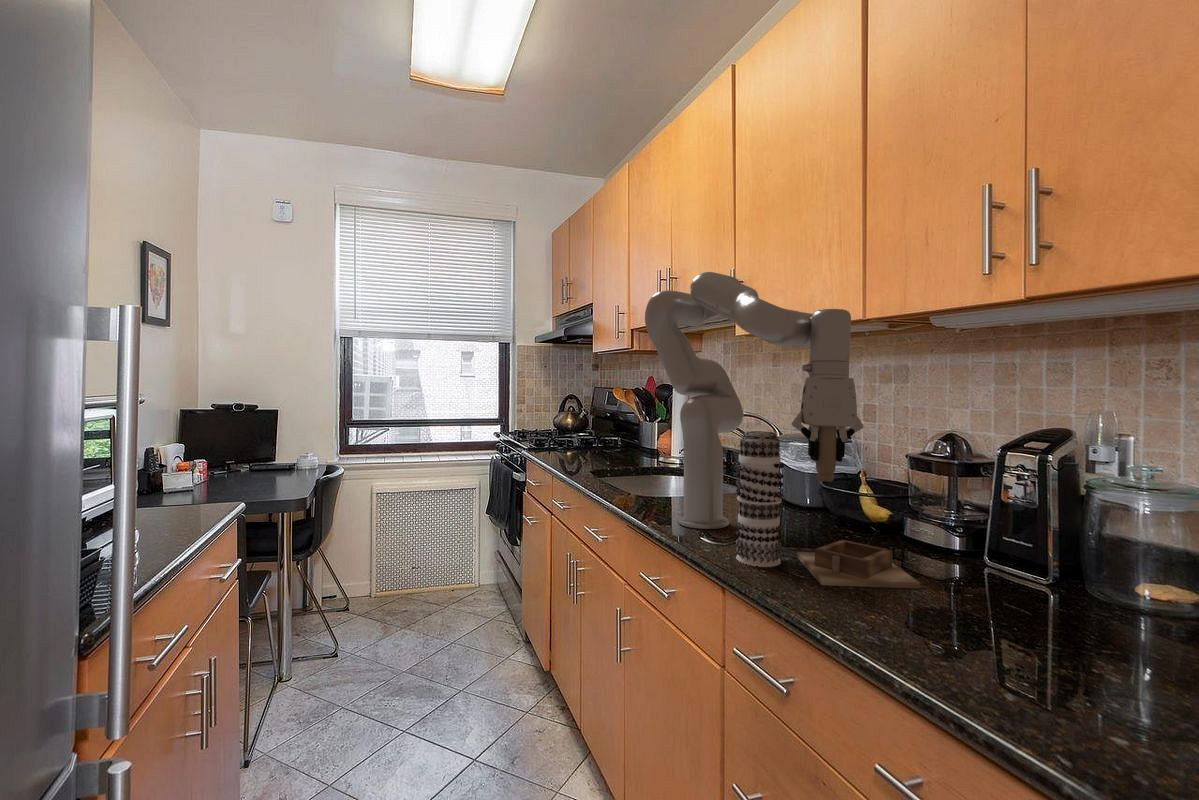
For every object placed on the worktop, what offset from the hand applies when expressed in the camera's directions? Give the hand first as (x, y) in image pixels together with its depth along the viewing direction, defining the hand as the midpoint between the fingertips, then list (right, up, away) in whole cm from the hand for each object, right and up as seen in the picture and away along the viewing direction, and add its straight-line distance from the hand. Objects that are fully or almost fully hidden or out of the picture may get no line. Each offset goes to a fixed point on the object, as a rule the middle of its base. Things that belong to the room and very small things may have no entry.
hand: (825, 459), depth 115 cm
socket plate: (0, -19, -12) cm, 23 cm away
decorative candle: (-15, -19, -5) cm, 25 cm away
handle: (0, -4, 0) cm, 5 cm away
